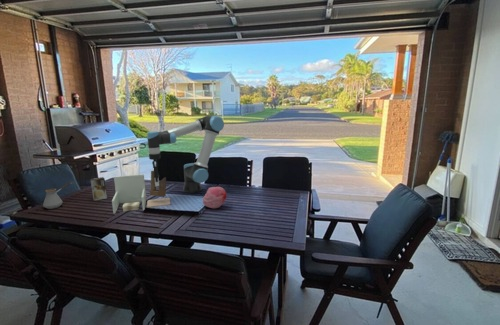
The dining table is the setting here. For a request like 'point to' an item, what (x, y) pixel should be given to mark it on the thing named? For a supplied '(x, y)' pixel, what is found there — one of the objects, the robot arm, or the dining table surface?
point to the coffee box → (98, 188)
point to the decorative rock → (214, 197)
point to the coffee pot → (53, 198)
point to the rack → (129, 190)
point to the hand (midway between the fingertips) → (157, 185)
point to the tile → (158, 202)
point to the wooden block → (162, 186)
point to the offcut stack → (131, 206)
